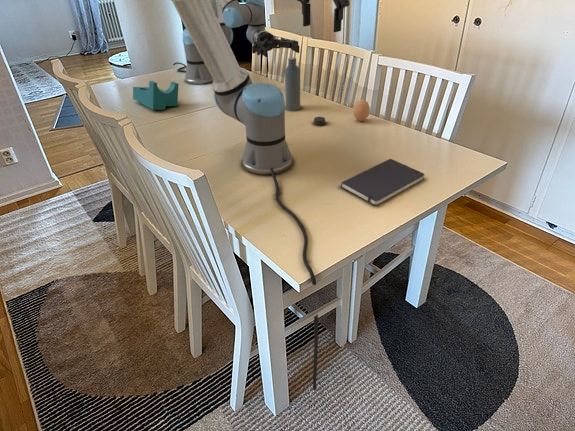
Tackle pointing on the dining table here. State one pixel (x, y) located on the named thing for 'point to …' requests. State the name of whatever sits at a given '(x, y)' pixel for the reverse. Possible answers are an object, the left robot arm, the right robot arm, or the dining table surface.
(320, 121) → the cap
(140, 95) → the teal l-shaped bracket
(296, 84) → the bottle
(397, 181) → the notebook
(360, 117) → the egg
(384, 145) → the dining table surface
